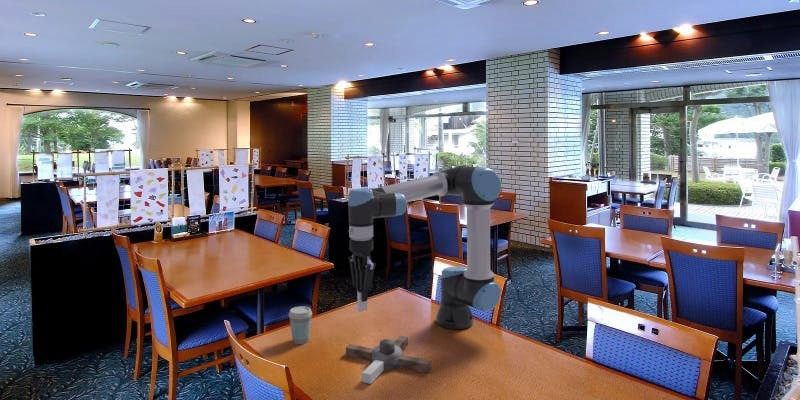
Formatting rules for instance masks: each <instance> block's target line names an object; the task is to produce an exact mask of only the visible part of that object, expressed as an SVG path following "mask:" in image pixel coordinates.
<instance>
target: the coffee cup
mask: <svg viewBox="0 0 800 400" xmlns="http://www.w3.org/2000/svg"><path fill="white" fill-rule="evenodd" d="M312 316H313V311H312V308H310V307H308V306H303V305H302V306H300V305H299V306H295V307H292V308H290V310H289V312H288V317H289V322H290V323H289V324H290V331H291V338H292V339H291V340H292V343H294V344H295V345H305V344H307V343H309V341H310V335H311V334H310V332H311V325H312V324H311V323H312V322H311V321H312Z"/></svg>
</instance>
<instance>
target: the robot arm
mask: <svg viewBox="0 0 800 400" xmlns="http://www.w3.org/2000/svg"><path fill="white" fill-rule="evenodd" d="M501 189H502V182H501V178H500V176H499V175H498V173H496V171H495V170H493V169H492V168H488V167H483V166H468V165H461V166H455V167H451V168H447V169H446V168H445V169H443V170H440V171H439V170H438V171H435V172H434V173H433V174H432V175H428V176H423V177H419V178H416V179H411V180H407V181H401V182H398V183H393V184H388V185H385V186H379V187H375V188H371V189H370V188H355V189H351V190H350V191H349V192H348V200H347V201H348V203H347V206H348V226H349V228H348V233H349V234H348V235H349V238H350V239H349V240H348V243H349V244H348V245H349V249H348V250H349V251H350V252H351V253H352V255H350V256H348V262H349V266H350V274H351V280H352V286H353V287H355V290H356V292H357V293H356V294H357V295H356V297H357V299H356V300H357V301H356V302H357V311H358V312H361V313H362V312H364V311H368V292H369V291H371V290H372V288H373V280H374V272H375V268H376V266H377V265H376V262H372V256H371V252H372V251H373V250H374V239H373V237H374V219H380V218H387V217H388V218H389V217H390V218H391V217H398V216H403V214H405V213H406V211H407V208H408V207H407V203H409V202H413V201H418V200H421V199H426V198H429V197H434V196H438V197H445V196H457V197H458V196H459V197H462V205H463V206H464V207H465V208H466V255H467V256H466V257H467V258H466V262H467V265H466V266H449V267H445V268H444V269H442V271H441V277H440V304H439V307H438V310H437V313H436V317H435V322H436V324H437V325H438V326H440V327H442V328H445V329H449V330H464V329H468V328H471V327H472V326H473V324H474V317H473V312H472V310H471V308H473V309H474V310H477V311H480V312H489V311H491V310H493V309H494V308H495V307H496V306H497V304H498V303H499V301H500V299H501V296H502V293H501V292H502V289H501V287H500V285H499V284H498V283H497V282H495V273H494V272H493V271H492V270H491V208H492V207H493V206H494V204H495V200H496V199H497V198H498V197H499V194H500V193H501Z"/></svg>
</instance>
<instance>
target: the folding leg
mask: <svg viewBox="0 0 800 400" xmlns="http://www.w3.org/2000/svg"><path fill="white" fill-rule="evenodd" d="M383 372H384V362H383V361H378V360H375V361H374V362H373V363H372V362H371V364H369V365H368V366H367V367H366V368H365V369H364V370H363V371H362V373H361V376H362V377H361V379H362V380H361V381H362V383H365V384H373V382H375V380H376V379H377V378H378V377H380V375H381V374H382V373H383Z"/></svg>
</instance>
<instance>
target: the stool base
mask: <svg viewBox="0 0 800 400" xmlns="http://www.w3.org/2000/svg"><path fill="white" fill-rule="evenodd" d="M408 345H409V337H408V336H403V335H400V336H399V337H398V338H397V339H395V340H393V339H390V338H389V339H388V338H387V339H381V340H380V341H379V345H377V346H375V347H374V348H372V347H371V348H370V347H367V346H361V345H356V344H352V343H349V344H348V345H347V346H346V347H345V357H350V358H355V359H359V360H363V361H364V360H365V361H368V362H371V364H372V363H373V362H374V361H375V360H378V361H383V362H384V370H385V371H386V370H387V371H388V370H395V369H397V368H401V369H405V370H411V371H414V372H420V373H424V374H429V373H430V371H431V370H432V360H430V359H425V358H421V357H415V356H410V355H405V354H403V351H404V350H405V349H406V348H407V346H408Z"/></svg>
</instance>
